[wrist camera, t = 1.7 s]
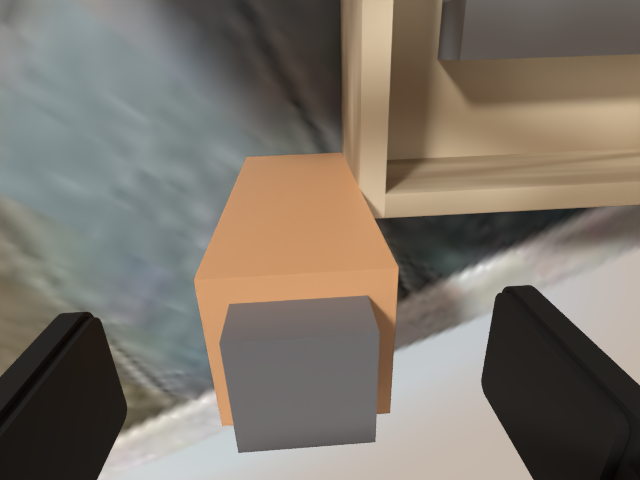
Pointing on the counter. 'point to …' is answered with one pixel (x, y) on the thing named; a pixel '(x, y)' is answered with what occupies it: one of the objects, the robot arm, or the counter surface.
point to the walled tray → (491, 104)
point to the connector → (299, 306)
